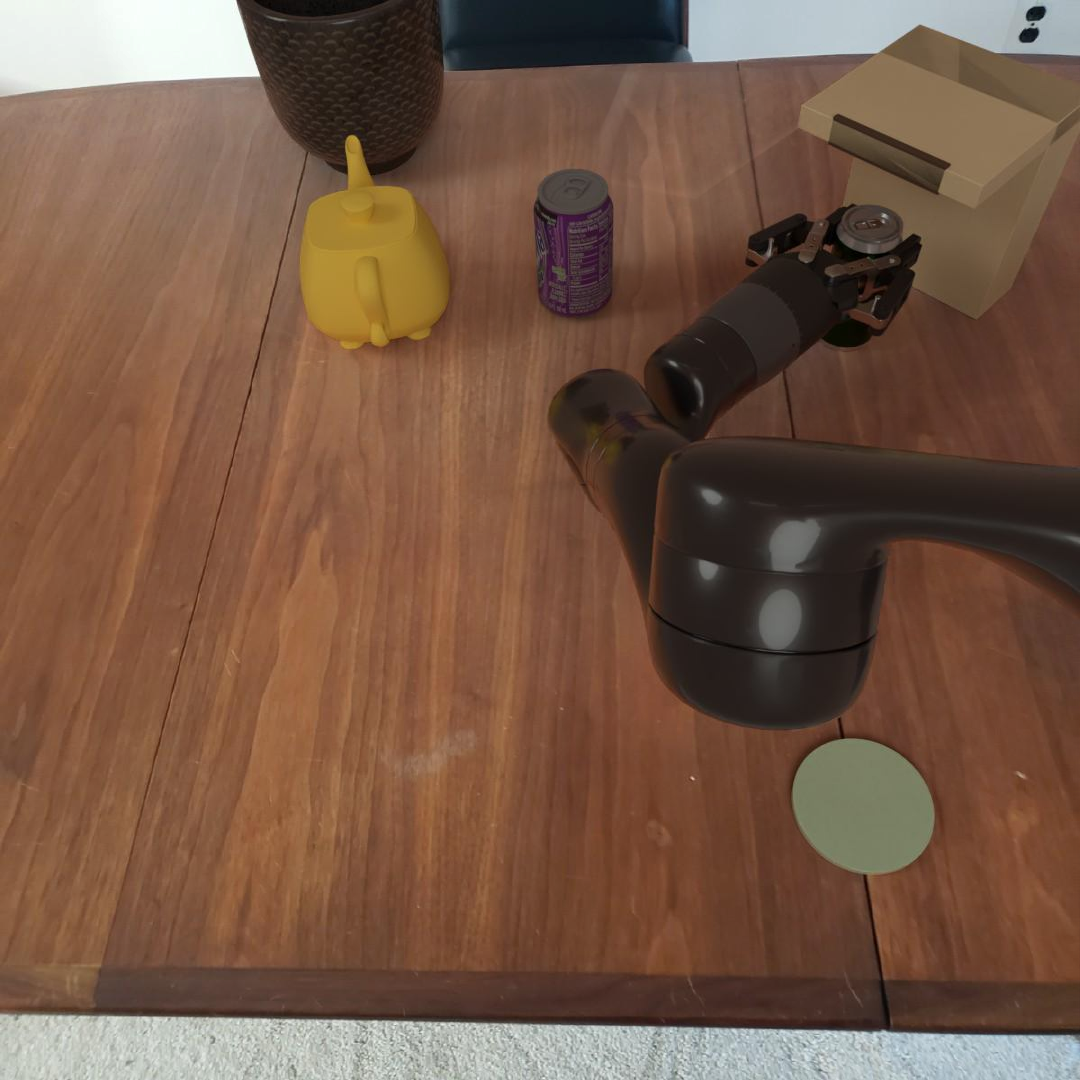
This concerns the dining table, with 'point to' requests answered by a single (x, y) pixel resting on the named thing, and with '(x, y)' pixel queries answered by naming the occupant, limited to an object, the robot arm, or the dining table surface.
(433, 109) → the planter
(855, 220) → the beer can
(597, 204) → the beverage can
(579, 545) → the dining table surface
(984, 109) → the lidded cardboard box
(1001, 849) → the dining table surface
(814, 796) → the coaster
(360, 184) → the teapot
